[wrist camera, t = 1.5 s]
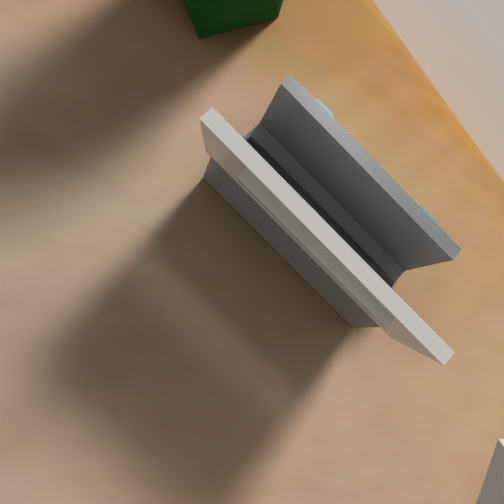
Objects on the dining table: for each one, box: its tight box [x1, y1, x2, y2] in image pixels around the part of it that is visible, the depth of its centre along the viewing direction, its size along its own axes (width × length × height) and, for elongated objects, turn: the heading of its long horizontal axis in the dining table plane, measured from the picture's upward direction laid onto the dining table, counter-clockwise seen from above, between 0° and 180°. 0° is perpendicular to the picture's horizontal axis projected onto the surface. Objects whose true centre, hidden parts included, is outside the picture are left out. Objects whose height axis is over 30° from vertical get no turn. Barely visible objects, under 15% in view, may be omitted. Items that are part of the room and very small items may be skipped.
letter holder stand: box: [203, 75, 461, 327], centre depth 33 cm, size 16×8×7 cm, turn 46°
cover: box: [200, 107, 455, 365], centre depth 25 cm, size 16×7×1 cm
